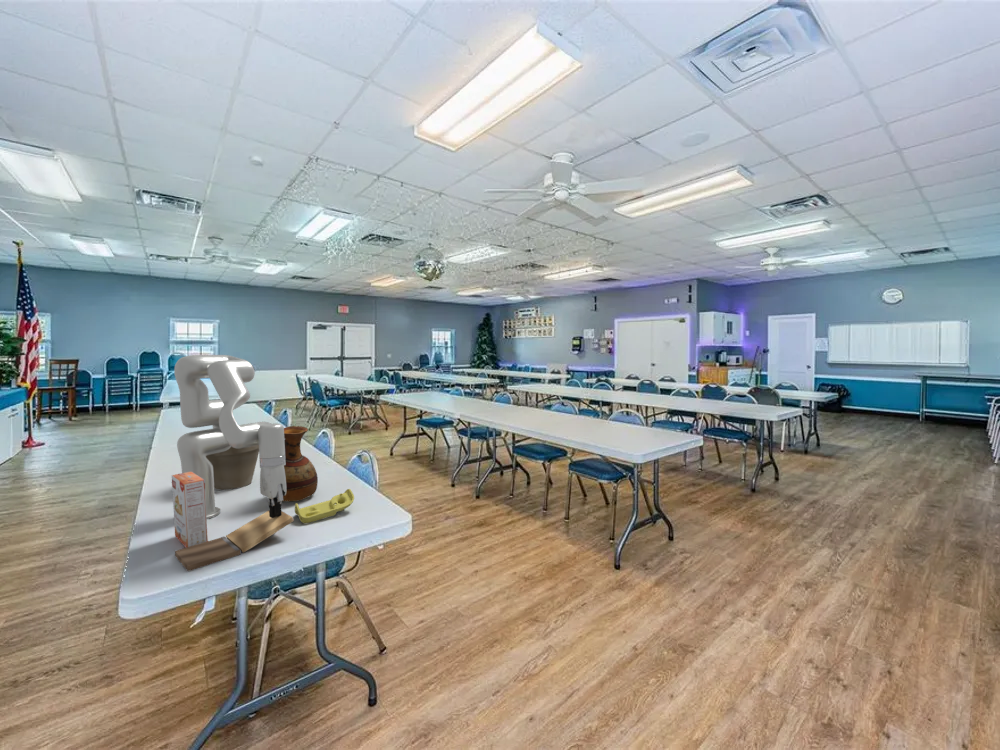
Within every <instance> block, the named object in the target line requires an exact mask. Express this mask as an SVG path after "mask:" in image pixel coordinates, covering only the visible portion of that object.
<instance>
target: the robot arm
mask: <svg viewBox="0 0 1000 750" xmlns="http://www.w3.org/2000/svg"><path fill="white" fill-rule="evenodd" d="M173 372H174V378H175V380H176V383H177V386H178V391H179V402H180V416H181V417H180V419H181V420H180V421H181V423H182V425H183V426H184V427H185V428H189V429H196V428H197V429H198V428H205V427H210V426H212V428H208V429H201V430H195V431H190V432H186V433H184V434H183V435H181V436H180V437H179V438H178V439H177V442H176V447H177V451H178V452H177V453H178V455H179V460H180V466H181V473H187V472H193V473H194V474H196V475H197V476H199V477H201V478H202V479H204V480H205V499H206V518H207V520H209V519H211V518H214V517H217V516H218V515H219V514H220V513H221V508H219V507H217V506H216V499H215V498H216V496H215V494H216V493H215V488H214V470H213V465H212V464H211V462H210V461H209V460H208V459H207V458H206V456H207V455H211V454H215V453H220V452H224V451H227V450H228V449H229V448H230V447H231V446H232V447H233V448H237V449H239V448H245V447H249V446H254V445H259V454H258V457H259V468H260V473H259V474H260V475H259V491H260V495H262V496H263V497H265V498H267V504H268V511H269V516H270V517H271V518H275V517H278V516H281V515H282V513H281V511H282V502H284V501H283V496H285V495H286V477H285V470H284V465H286V461H285V441H284V440H285V438H284V428H285V427H284V425H283V424H281V423H278V422H277V423H276V422H275V423H274V422H273V423H272V422H269V421H257V422H249V423H244V424H240V425H239V423H238V422H237V421H236V418H235V416H234V410H236V409H237V408H239V407H241V406H243V405H245V404H246V403H247V402H248V401H249V400H250V398H251V393H250V391H249V389H248V387H247V385H246V384H245V383H249V382H251V381H253V380H254V378H255V372H256V371H255V368H254V366H253V365H252V364H251V362H249V361H248V360H246V359H244V358H240V357H236V356H233V355H228V354H194V355H186V356H182V357H180V358H178V360H177V361H176V363H175V365H174V371H173ZM202 379H209V380H210V381H211V383H212V385H213V387H214V389H215V391H216V392H217V395H218V396H219V398H220V399H210V397H209V389H208V387H207V384H205V382H204V381H203V380H202ZM209 399H210V400H209Z"/></svg>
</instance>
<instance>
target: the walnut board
mask: <svg viewBox="0 0 1000 750" xmlns="http://www.w3.org/2000/svg"><path fill="white" fill-rule="evenodd" d="M239 555H240V556H241V551H240V549H239V548H238V547H236V546H235V545H234V544H233V543H232V542H231V541H229V540H228V539H227V537H226V536H221V537H218V538H215V539H211V540H208V541H207V542H204V543H200V544H197V545H193V546H190V547H187V548H186V547H184V548H180V549H176V550H174V556H175V558H176V557H177V558H176V559H177V560H178V561H179V562H180V564H181V563H182V564H181V565H182V566H183V568H184V569H185V570H186V571H187V572H191V571H194V570H197V569H200V568H204V567H206V566H208V565H212V564H215V563H218V562H221V561H224V560H228V559H231V558H233V557H237V556H239Z"/></svg>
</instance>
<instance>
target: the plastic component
mask: <svg viewBox="0 0 1000 750" xmlns="http://www.w3.org/2000/svg"><path fill="white" fill-rule="evenodd" d="M354 500H355V494H354V493H353V490H352V489H351V488H347V489H346V490H345V491H344V492H343V493H339V494H336V495H334V496H333V497H331V498H330V499H328V500H324V501H322V502H318V503H315V504H311V505H307V506H304V507H302V508H300V507H299V504H298V502H297V503H296V502H295V504H294V513H295V515H297V516H298V518H299V521H300V522H301V523H302V524H309V523H315V522H317V521H321V520H323V519H327V518H330V517H334V516H336V514H337V512H342V511H343V512H344V511H345V510H346V509H348V508H349V507H350V506H351V505H352V504H353V502H354Z"/></svg>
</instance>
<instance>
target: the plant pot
mask: <svg viewBox="0 0 1000 750" xmlns="http://www.w3.org/2000/svg"><path fill="white" fill-rule="evenodd" d="M258 457H259V445H254V446H249V447H245V448H239V449H237V448H233V447H232V446H231V447H230V448H229V449H228V450H227V451H224V452H220V453H215V454H211V455H207V456H206V458H207V459H208V460H209V461H210V462H211V464H212V465H213V470H214V490H215V489H216V490H217V491H218V490H219V491H220V490H221V491H224V490H225V491H226V490H237V489H240V488H244V487H246V486H249V485H250V484H252V482H253V478H254V474H255V469H256V467H257V466H256V465H257V462H258Z"/></svg>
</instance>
